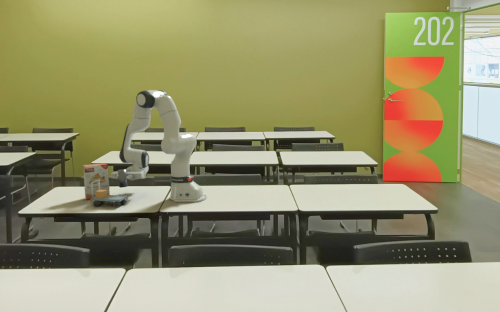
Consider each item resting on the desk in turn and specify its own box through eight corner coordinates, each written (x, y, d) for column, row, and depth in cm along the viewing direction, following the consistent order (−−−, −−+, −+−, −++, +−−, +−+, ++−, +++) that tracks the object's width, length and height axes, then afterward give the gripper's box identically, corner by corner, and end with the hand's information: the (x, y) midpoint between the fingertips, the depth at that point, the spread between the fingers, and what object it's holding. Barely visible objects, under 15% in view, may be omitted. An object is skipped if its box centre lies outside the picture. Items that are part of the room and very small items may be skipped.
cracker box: (86, 200, 288) (84, 166, 285) (85, 198, 293) (82, 164, 290) (110, 197, 295) (108, 164, 291) (108, 195, 300) (106, 162, 296)
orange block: (107, 195, 279) (107, 189, 278) (103, 197, 274) (102, 192, 274) (99, 195, 280) (99, 189, 280) (95, 197, 275) (94, 191, 275)
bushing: (128, 185, 287) (127, 169, 285) (125, 187, 282) (123, 170, 281) (121, 185, 288) (120, 169, 286) (117, 187, 283) (116, 170, 282)
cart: (127, 203, 279) (126, 179, 277) (120, 207, 271) (118, 183, 268) (99, 202, 283) (98, 178, 281) (91, 206, 275) (89, 182, 272)
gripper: (117, 168, 298) (105, 172, 285) (147, 168, 294) (136, 172, 280) (117, 177, 299) (106, 182, 286) (147, 178, 295) (137, 183, 281)
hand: (121, 177), depth 283 cm, fingers closed on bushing, 5 cm apart
